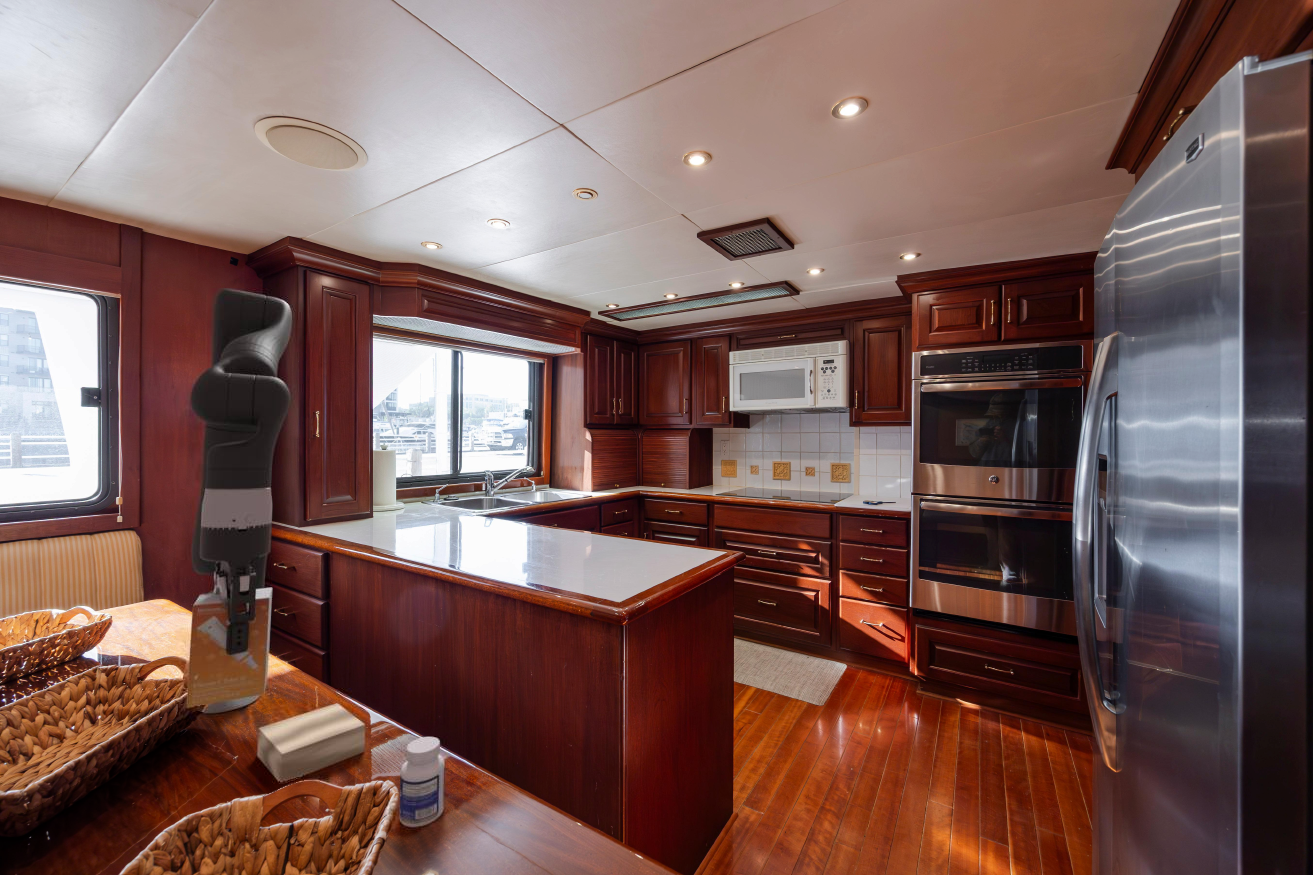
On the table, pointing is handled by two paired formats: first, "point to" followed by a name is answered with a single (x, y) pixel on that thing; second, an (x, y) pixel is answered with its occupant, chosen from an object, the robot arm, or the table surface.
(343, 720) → the birch block
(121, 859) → the table surface
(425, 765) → the pill bottle
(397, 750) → the table surface
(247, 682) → the small box
